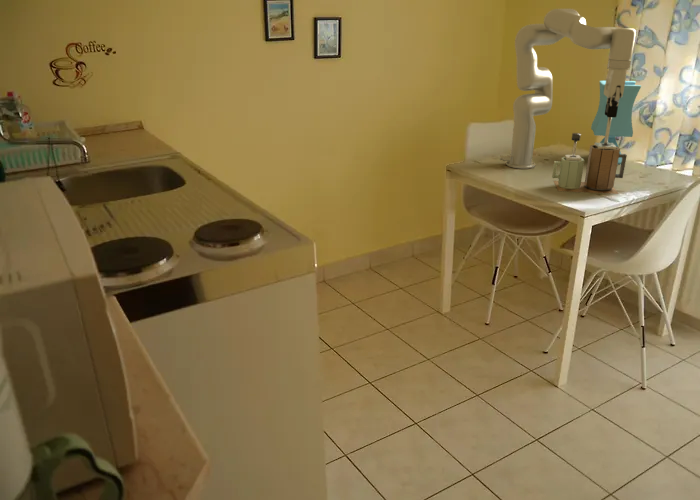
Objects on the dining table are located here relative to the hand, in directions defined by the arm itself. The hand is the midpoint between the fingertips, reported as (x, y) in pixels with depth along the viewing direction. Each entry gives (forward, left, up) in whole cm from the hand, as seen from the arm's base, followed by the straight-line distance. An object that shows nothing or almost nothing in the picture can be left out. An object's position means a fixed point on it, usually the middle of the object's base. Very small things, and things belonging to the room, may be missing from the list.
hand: (610, 115), depth 214 cm
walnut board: (-5, 0, -29) cm, 30 cm away
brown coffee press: (+2, 0, -28) cm, 28 cm away
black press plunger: (0, 0, -16) cm, 16 cm away
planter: (+13, +50, -29) cm, 59 cm away
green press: (-12, 0, -28) cm, 31 cm away
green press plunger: (-11, 0, -20) cm, 23 cm away
